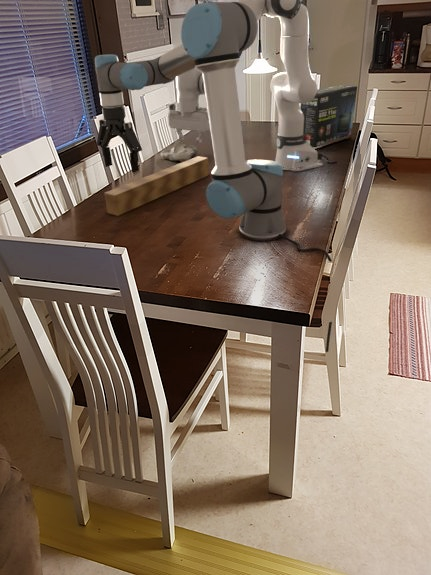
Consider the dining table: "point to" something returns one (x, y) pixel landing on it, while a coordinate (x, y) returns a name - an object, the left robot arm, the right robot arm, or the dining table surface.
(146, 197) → the post
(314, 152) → the right robot arm
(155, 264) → the dining table surface
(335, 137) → the router box
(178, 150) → the fossil
